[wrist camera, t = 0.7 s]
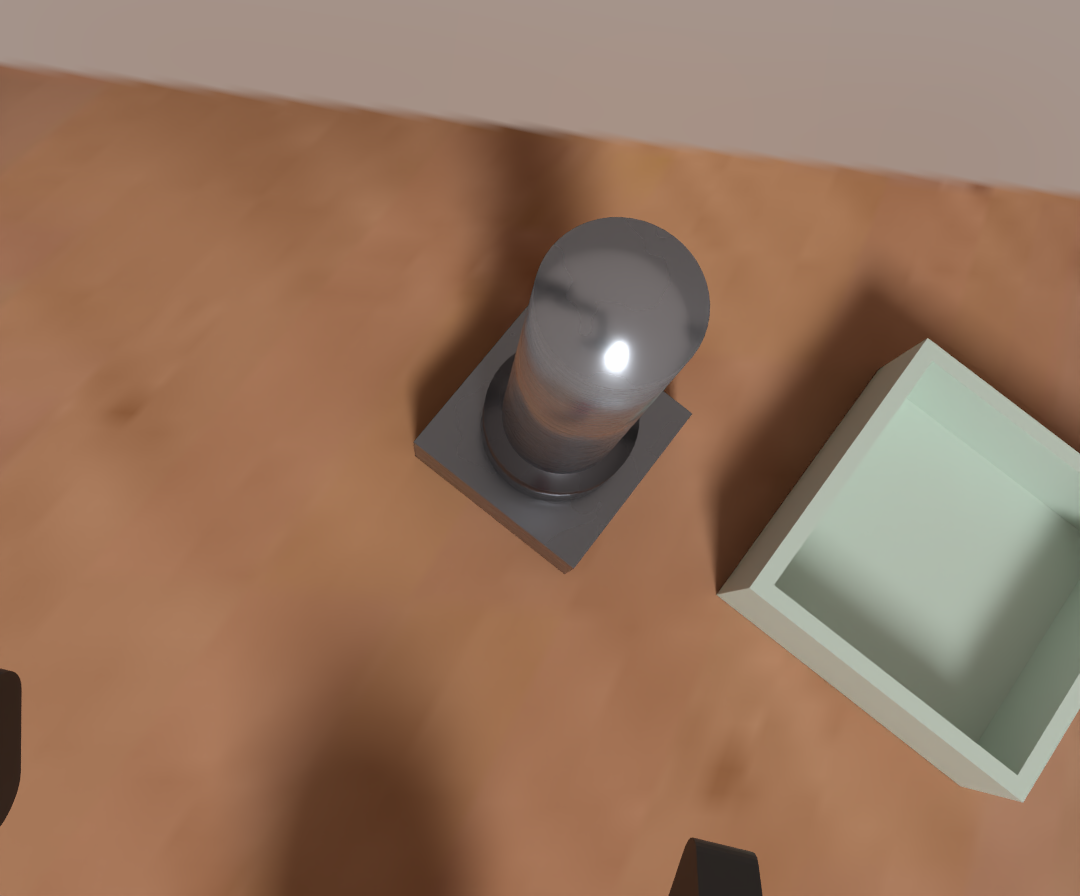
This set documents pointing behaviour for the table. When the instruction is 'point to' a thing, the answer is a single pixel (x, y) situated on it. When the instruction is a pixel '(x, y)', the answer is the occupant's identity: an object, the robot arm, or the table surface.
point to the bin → (934, 571)
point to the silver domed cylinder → (593, 356)
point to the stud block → (536, 522)
